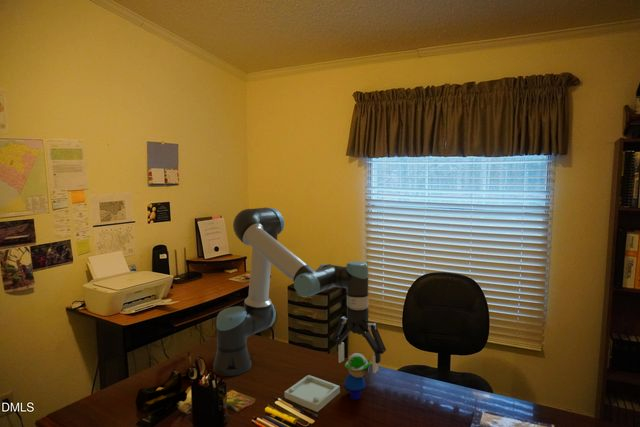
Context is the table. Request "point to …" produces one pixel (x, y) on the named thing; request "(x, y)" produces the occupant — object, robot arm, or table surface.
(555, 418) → the table surface
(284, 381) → the table surface
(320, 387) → the base plate
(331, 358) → the table surface
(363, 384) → the toy
